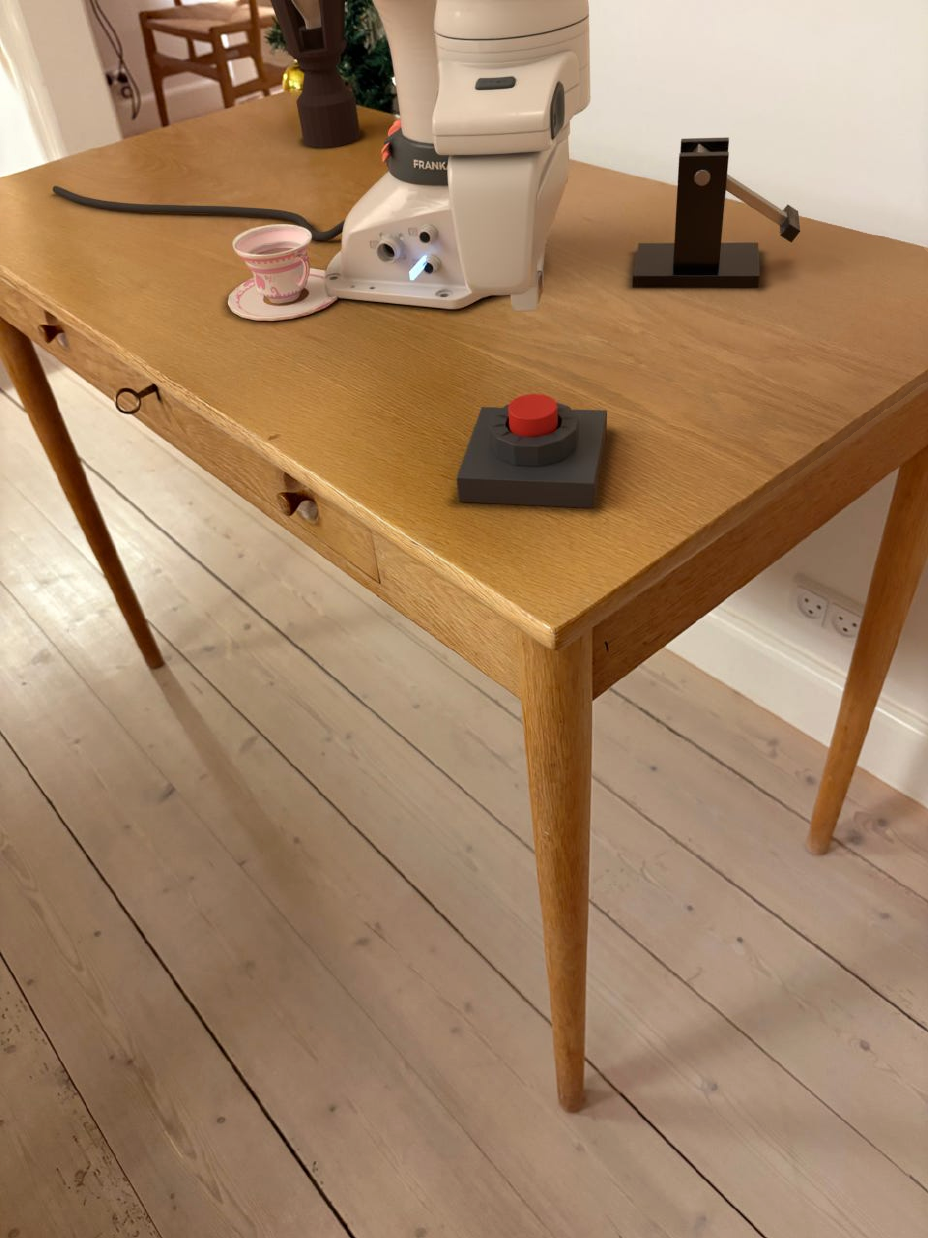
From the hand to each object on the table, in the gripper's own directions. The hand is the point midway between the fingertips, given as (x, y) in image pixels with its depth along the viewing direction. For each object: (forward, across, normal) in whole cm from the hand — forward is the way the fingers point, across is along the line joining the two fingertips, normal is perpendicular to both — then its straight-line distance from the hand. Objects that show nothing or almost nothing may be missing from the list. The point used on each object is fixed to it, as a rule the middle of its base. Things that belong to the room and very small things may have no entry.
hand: (528, 302), depth 68 cm
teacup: (+13, -30, -31) cm, 45 cm away
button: (+10, 0, 0) cm, 10 cm away
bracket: (+13, -36, +10) cm, 40 cm away
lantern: (+12, -81, -42) cm, 92 cm away
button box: (+13, 0, 0) cm, 13 cm away
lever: (+7, -36, +14) cm, 40 cm away
